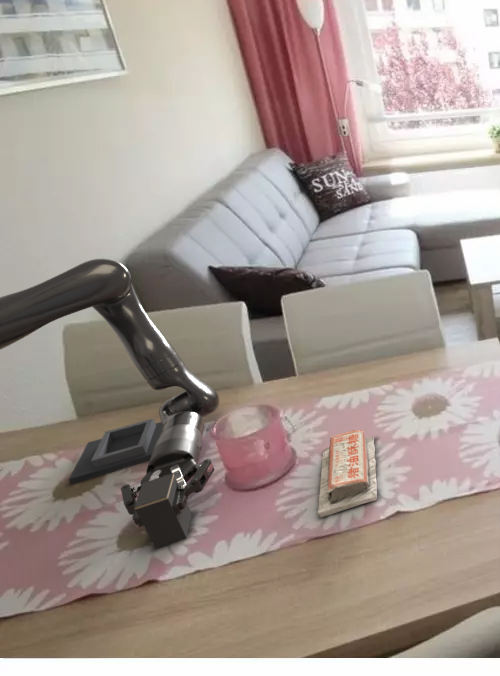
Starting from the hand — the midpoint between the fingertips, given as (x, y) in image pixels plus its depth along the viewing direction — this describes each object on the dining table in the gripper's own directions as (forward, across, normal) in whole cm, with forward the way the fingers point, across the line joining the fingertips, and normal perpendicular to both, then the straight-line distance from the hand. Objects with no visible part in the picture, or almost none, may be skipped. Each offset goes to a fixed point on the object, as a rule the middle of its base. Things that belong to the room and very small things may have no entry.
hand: (158, 515), depth 90 cm
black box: (-3, 0, +6) cm, 7 cm away
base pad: (-33, -12, +6) cm, 36 cm away
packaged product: (-1, +29, +7) cm, 29 cm away
